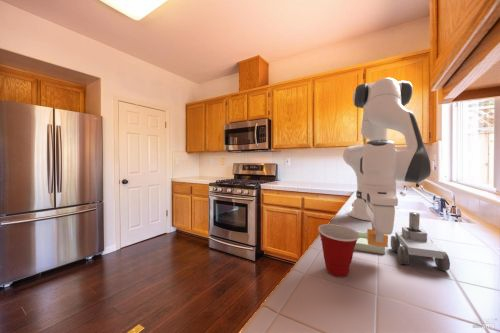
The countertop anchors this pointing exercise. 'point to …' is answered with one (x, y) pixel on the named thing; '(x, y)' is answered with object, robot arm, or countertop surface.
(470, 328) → the countertop surface
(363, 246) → the tray
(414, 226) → the pin
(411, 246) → the cart
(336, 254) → the plastic cup
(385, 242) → the chock
